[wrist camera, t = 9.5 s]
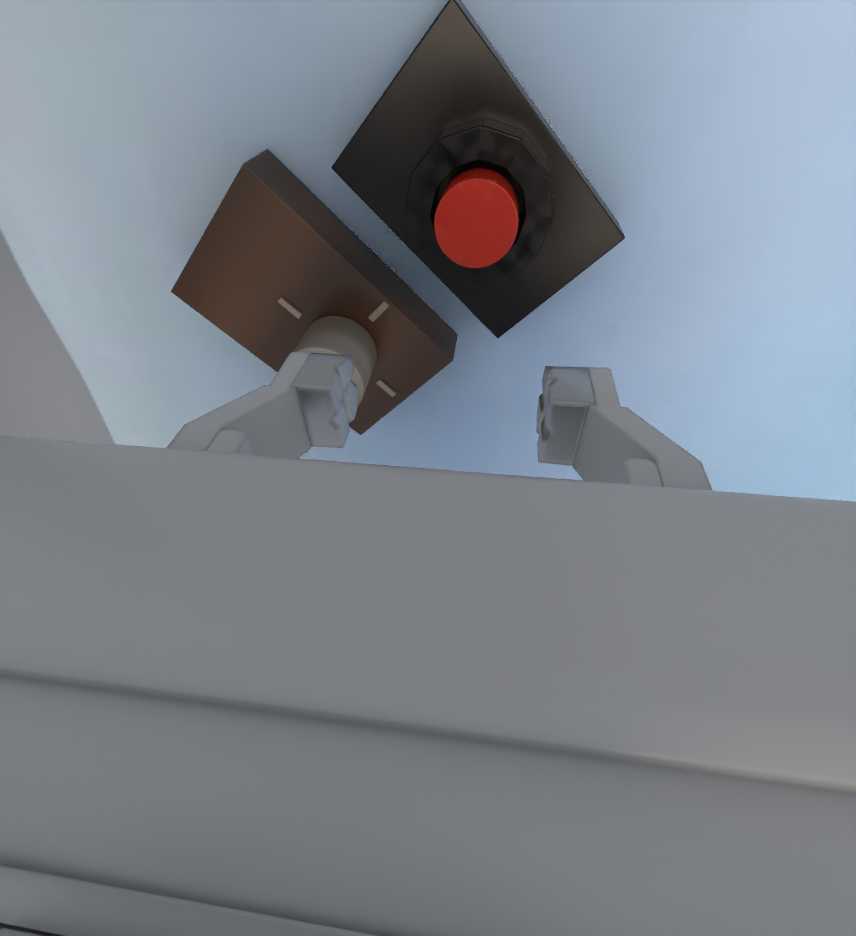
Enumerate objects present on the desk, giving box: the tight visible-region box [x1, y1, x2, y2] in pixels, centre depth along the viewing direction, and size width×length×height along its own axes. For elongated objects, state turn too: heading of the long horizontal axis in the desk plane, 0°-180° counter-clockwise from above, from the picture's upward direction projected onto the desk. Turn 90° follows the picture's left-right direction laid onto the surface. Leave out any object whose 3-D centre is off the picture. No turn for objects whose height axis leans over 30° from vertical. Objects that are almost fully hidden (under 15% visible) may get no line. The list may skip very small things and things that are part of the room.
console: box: [171, 150, 457, 435], centre depth 29 cm, size 14×9×3 cm, turn 46°
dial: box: [293, 316, 377, 406], centre depth 27 cm, size 4×4×4 cm
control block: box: [332, 0, 625, 338], centre depth 23 cm, size 12×8×4 cm, turn 46°
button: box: [434, 168, 518, 268], centre depth 21 cm, size 4×4×2 cm
